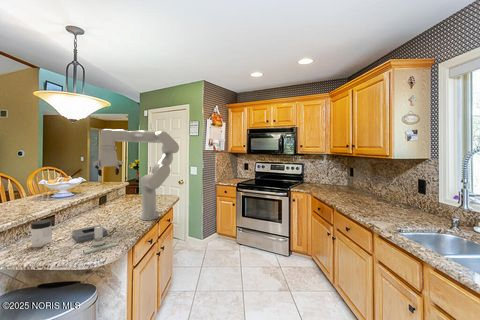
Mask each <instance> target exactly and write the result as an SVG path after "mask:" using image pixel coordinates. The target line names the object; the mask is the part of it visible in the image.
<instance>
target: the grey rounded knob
mask: <svg viewBox="0 0 480 320" xmlns="http://www.w3.org/2000/svg"><path fill="white" fill-rule="evenodd" d="M95 226H96V227H94V239H92V241H91V247H93V248H95V247H98V246H102V245H106V238H104V237H103V227H104V226H103V225H101V226H97V225H95Z"/></svg>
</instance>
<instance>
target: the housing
mask: <svg viewBox="0 0 480 320" xmlns="http://www.w3.org/2000/svg"><path fill="white" fill-rule="evenodd" d="M96 226H102V225H101V224H98V225H93V226H88V227H85V228H84V227H83V228H79V229H74V230H72V231H71V233H72V237H73V239H74V240H75V241H76V242H77V244H79V243H83V242H86V241H87V242H88V241H91V240H92V241H93V240H94V227H96ZM104 237H108V230H107V229H106V228H105V227H104V226H103V238H104Z"/></svg>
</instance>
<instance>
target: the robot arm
mask: <svg viewBox="0 0 480 320" xmlns="http://www.w3.org/2000/svg"><path fill="white" fill-rule="evenodd" d="M116 142H119V143H121V142H125V143H126V142H128V143H130V142H131V143H143V144H144V143H145V144H147V143H148V144H151V143H153V144H162V146H161V151H162V154H161V157H160V158H159V160H158V161H157V162H156V163H155V164H154V166H152V169H151V173H152V174H145V175H143V176H142V177H141V178H140V187H141V189H140V190H141V209H142V210H141V211H142V214H141V216H140V217H139V219H140V221H141V220H142V221H153V220H156V219H158V218H159V215H161V214H163V213H164V212H163V210H157V190H156V189H159V188H160V187H161V186H162V185H163V183H164V182H165V181H166V180H167V178H169V176H170V174H171V167H170V166H171V165H172V162H173V160H174V159H173V158H174V154H176V153H178V152H179V150H180V146H179V143H178V142H177V141H176V140H175V139H174V138H173V137H172V136H171V135H170V134H169V133H168V132H167V131H165V130H159V131H157V130H155V131H153V130H144V129H143V130H129V131H128V130H125V129H112V128H102V129H101V130H100V149H101V150H99V154H98V160H95V161H94V162H92V166H93V167H94V168H95V169H96V170H97V175H98V177H102V176H103V174H102V173H103V171H102V168H103V167H105V168H106V167H114V168H115V175H117V176H119V173H120V168H121V167H122V166H123V164H124V161H122V160H120V159H118V153H117V151H116V150H117V149H118V147H117V146H116V145H115V144H116ZM97 164H98V165H97Z"/></svg>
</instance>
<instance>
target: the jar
mask: <svg viewBox="0 0 480 320" xmlns="http://www.w3.org/2000/svg"><path fill="white" fill-rule="evenodd" d="M30 228H31V248H43V247H44V245H46V244H50V243H52V242H53V228H52V219H39V220H37V221H33V222H31V224H30Z"/></svg>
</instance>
